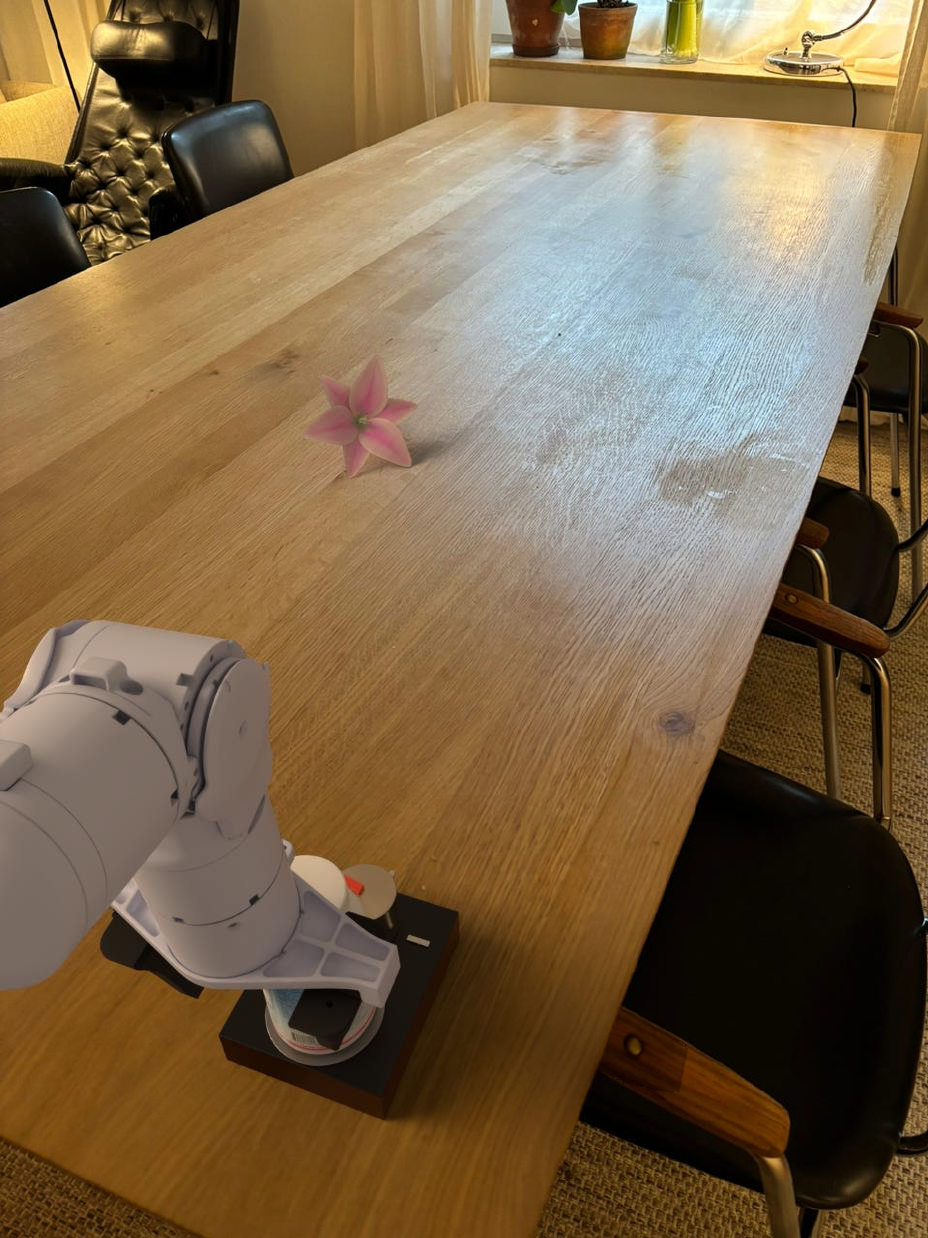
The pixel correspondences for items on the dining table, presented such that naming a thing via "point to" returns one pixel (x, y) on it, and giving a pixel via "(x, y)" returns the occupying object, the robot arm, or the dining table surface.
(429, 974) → the stove
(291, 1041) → the pill bottle
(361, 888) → the stove knob
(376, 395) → the lily
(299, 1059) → the burner
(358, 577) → the dining table surface
